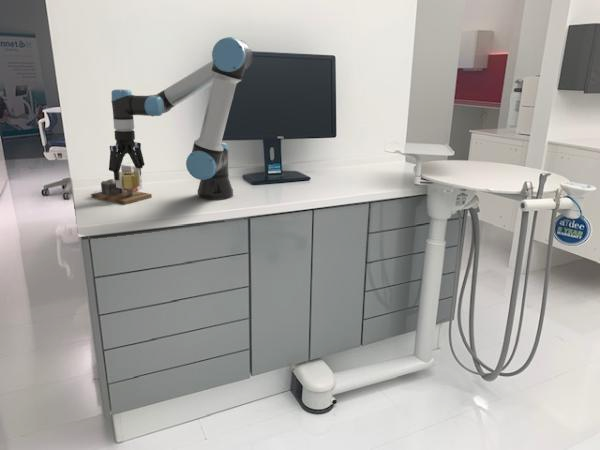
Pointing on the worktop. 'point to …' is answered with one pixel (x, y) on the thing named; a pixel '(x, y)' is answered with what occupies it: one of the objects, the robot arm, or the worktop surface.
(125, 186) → the brass gear
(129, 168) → the ink box
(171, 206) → the worktop surface
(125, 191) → the gear board
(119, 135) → the robot arm
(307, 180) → the worktop surface
